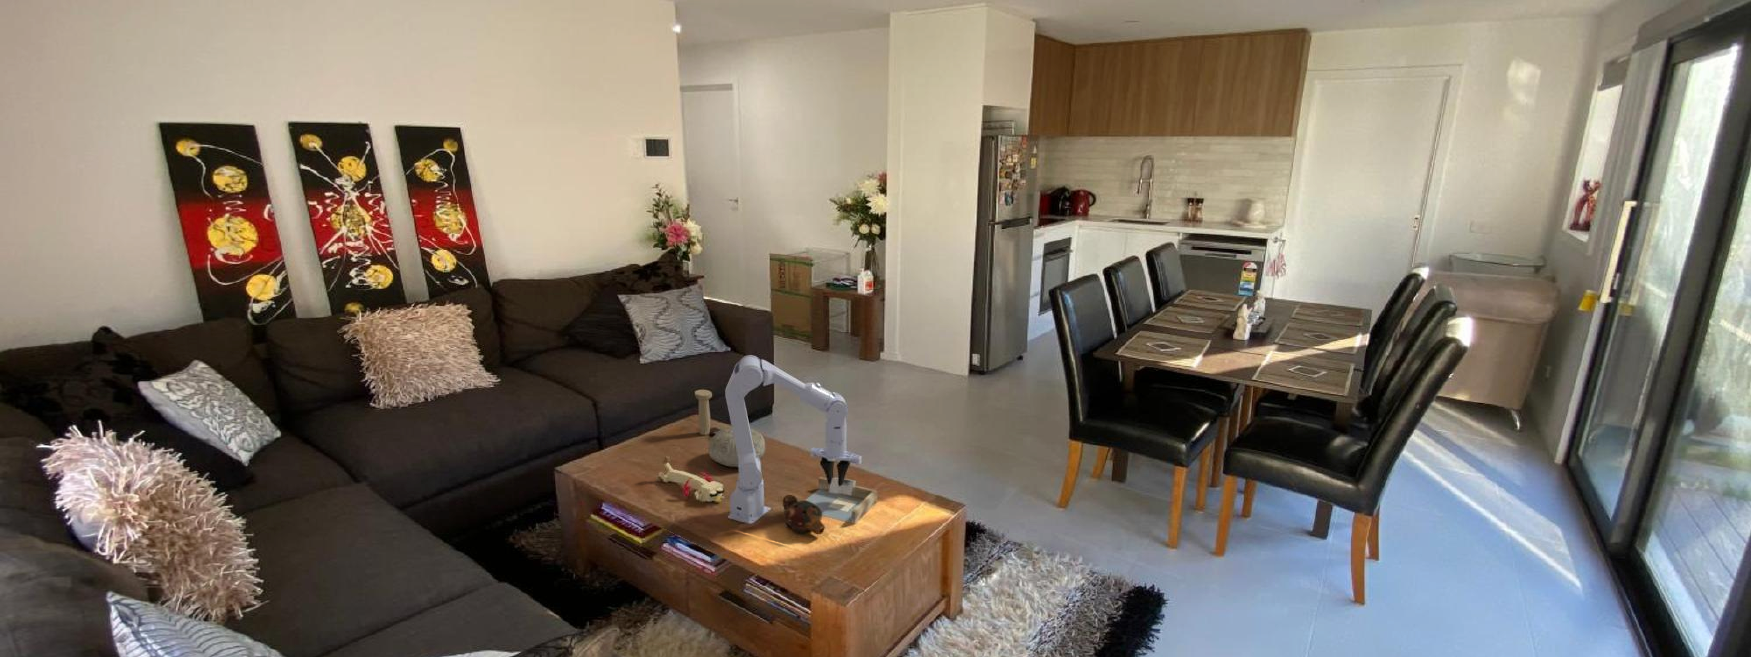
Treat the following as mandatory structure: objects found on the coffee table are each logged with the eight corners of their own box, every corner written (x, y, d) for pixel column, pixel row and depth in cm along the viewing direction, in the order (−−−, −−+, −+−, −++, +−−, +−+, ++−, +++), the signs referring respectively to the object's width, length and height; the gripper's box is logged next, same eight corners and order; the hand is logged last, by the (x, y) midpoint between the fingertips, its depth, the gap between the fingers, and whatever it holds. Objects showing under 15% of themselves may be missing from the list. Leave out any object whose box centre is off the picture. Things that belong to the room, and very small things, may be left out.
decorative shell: (698, 467, 235) (696, 437, 232) (725, 445, 251) (724, 417, 249) (750, 476, 230) (749, 446, 227) (774, 453, 246) (774, 424, 244)
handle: (704, 438, 256) (702, 396, 252) (693, 432, 260) (691, 391, 256) (716, 434, 259) (714, 393, 256) (705, 429, 264) (704, 388, 260)
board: (851, 524, 203) (851, 523, 203) (795, 509, 211) (795, 508, 210) (872, 504, 215) (872, 502, 214) (818, 490, 222) (818, 489, 222)
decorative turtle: (794, 513, 209) (796, 486, 207) (835, 535, 200) (837, 508, 198) (768, 525, 201) (770, 498, 199) (809, 548, 193) (812, 520, 190)
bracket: (835, 491, 215) (838, 477, 216) (853, 495, 213) (856, 480, 214) (828, 492, 210) (831, 477, 210) (847, 495, 208) (849, 481, 209)
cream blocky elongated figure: (652, 488, 224) (707, 508, 209) (649, 461, 222) (704, 479, 207) (679, 477, 232) (734, 495, 216) (676, 450, 230) (732, 467, 215)
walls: (855, 525, 203) (855, 512, 202) (795, 509, 211) (795, 496, 209) (877, 503, 215) (877, 490, 214) (820, 489, 223) (820, 476, 222)
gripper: (805, 439, 206) (805, 485, 209) (855, 448, 201) (854, 494, 205) (816, 430, 212) (816, 474, 216) (864, 438, 208) (863, 483, 211)
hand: (835, 483), depth 211 cm, fingers closed on bracket, 2 cm apart
